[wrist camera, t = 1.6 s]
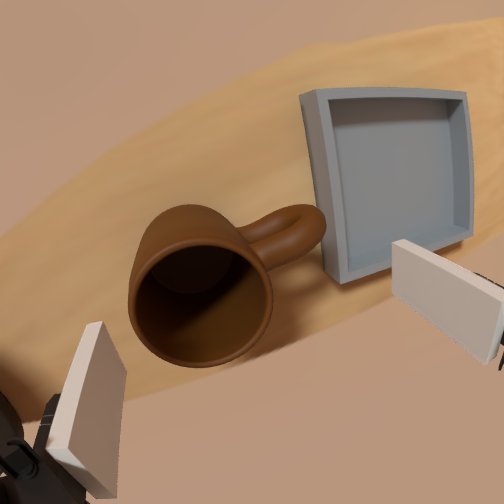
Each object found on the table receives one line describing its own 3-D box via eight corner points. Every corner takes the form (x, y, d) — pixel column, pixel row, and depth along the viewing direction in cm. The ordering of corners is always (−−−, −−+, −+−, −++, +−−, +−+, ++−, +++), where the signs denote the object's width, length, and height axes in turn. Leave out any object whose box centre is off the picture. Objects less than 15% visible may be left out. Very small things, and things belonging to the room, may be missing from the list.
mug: (257, 151, 23) (311, 154, 14) (301, 235, 26) (365, 278, 17) (120, 238, 22) (93, 291, 14) (176, 313, 25) (184, 391, 17)
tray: (323, 271, 27) (340, 284, 25) (298, 95, 22) (315, 89, 19) (453, 228, 30) (473, 235, 28) (445, 93, 25) (466, 92, 22)
